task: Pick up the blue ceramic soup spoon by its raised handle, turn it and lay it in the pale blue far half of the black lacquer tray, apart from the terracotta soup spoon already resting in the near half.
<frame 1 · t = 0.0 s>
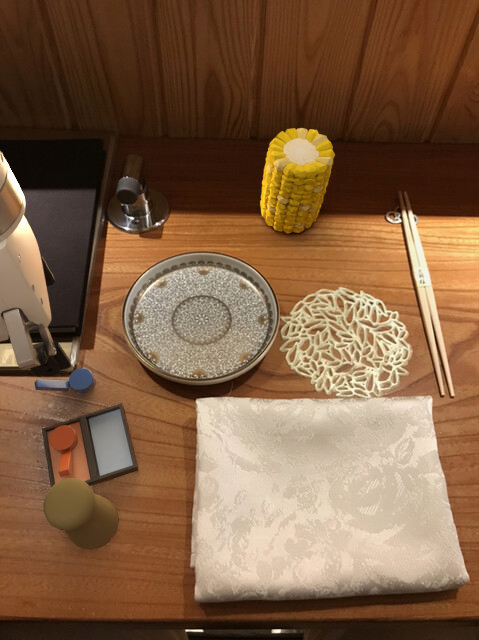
hand: (46, 325, 53), 23 cm above the counter, tool pointing down, fingers open, 9 cm apart
food: (292, 215, 89), on the counter
terracotta spoon: (68, 455, 70), resting on sorting tray
olive waisted cylinder: (93, 522, 66), on the counter
sorting tray: (90, 450, 71), on the counter
blue spoon: (69, 387, 75), on the counter
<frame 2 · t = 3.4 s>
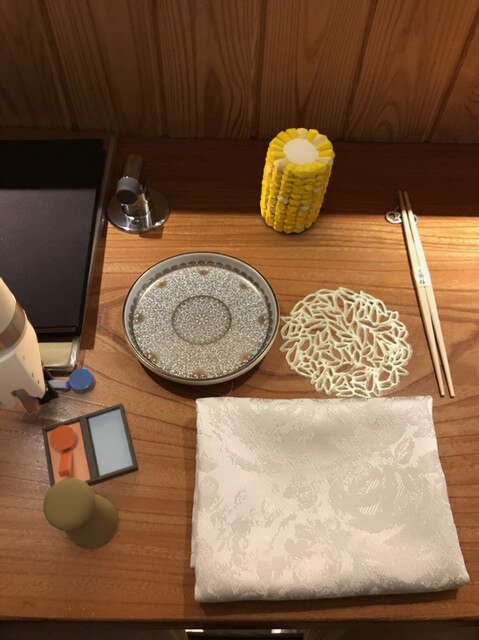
hand: (45, 392, 74), 1 cm above the counter, tool pointing down, fingers closed on blue spoon
blue spoon: (69, 387, 75), on the counter, touching gripper
everything else where it was.
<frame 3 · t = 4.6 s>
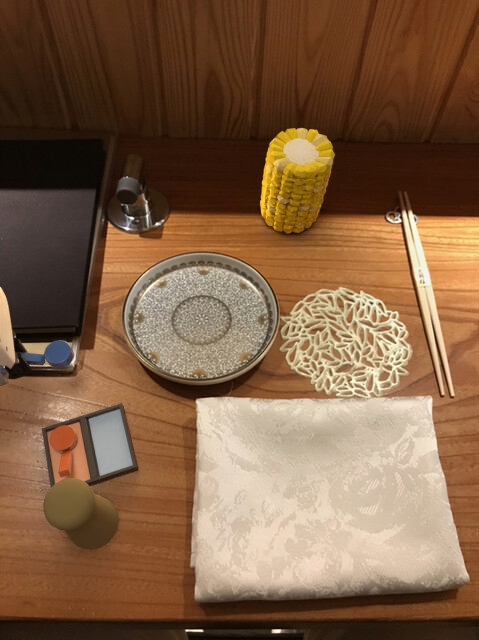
hand: (17, 367, 67), 9 cm above the counter, tool pointing down, fingers closed on blue spoon
blue spoon: (44, 361, 68), point 8 cm above the counter, touching gripper
everything else where it was.
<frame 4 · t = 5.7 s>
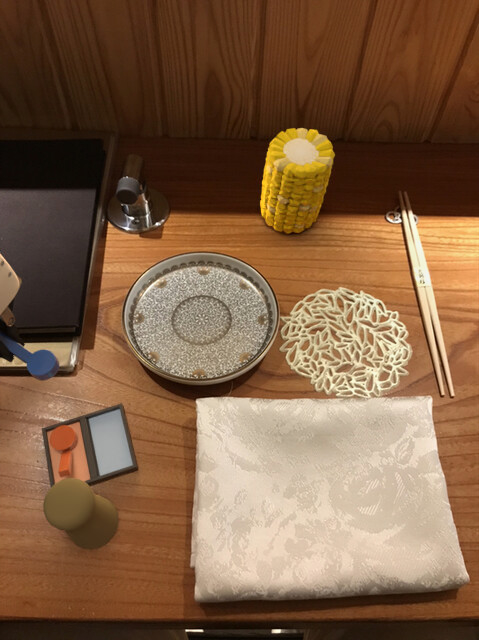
hand: (7, 348, 64), 13 cm above the counter, tool pointing down, fingers closed on blue spoon
blue spoon: (31, 360, 63), point 13 cm above the counter, touching gripper
everything else where it was.
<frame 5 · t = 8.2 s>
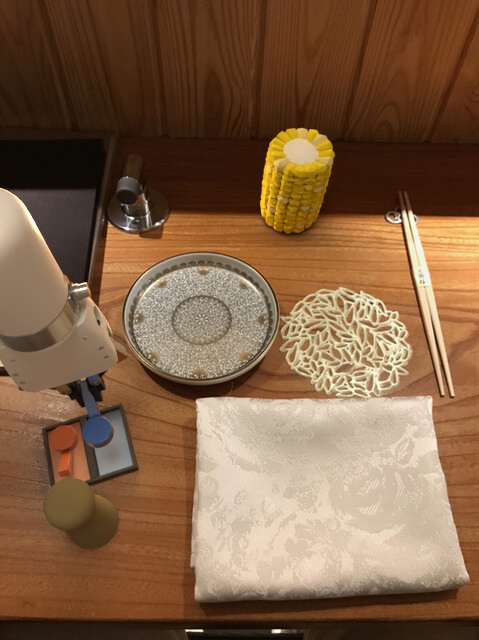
hand: (90, 393, 65), 9 cm above the counter, tool pointing down, fingers closed on blue spoon
blue spoon: (96, 418, 64), point 9 cm above the counter, touching gripper
everything else where it was.
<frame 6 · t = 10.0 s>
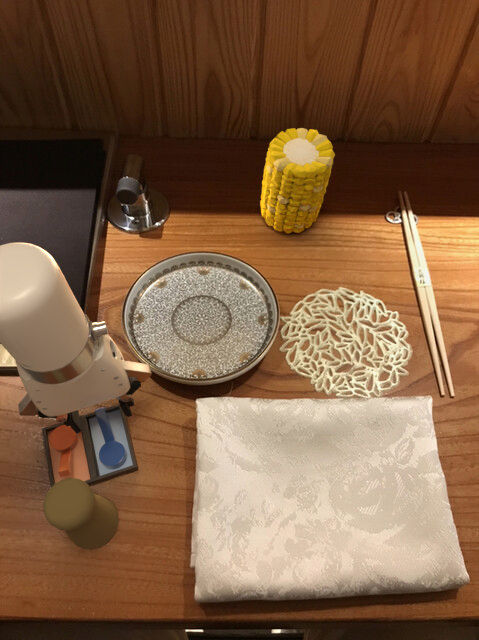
hand: (102, 413, 70), 3 cm above the counter, tool pointing down, fingers open, 5 cm apart
blue spoon: (111, 441, 71), resting on sorting tray
everything else where it was.
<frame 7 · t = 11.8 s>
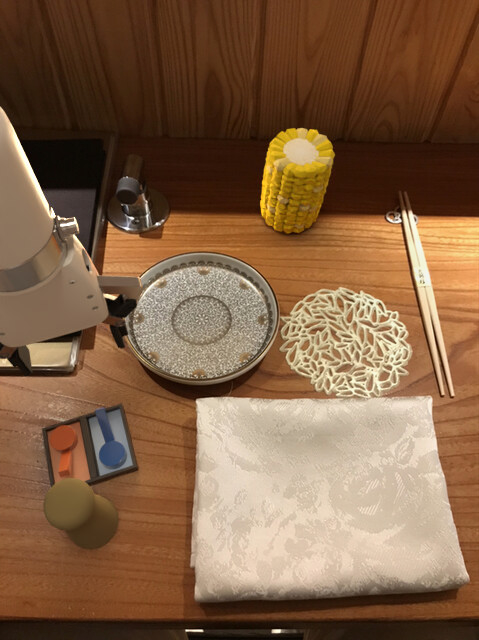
hand: (74, 350, 58), 17 cm above the counter, tool pointing down, fingers open, 9 cm apart
nothing on the counter moved.
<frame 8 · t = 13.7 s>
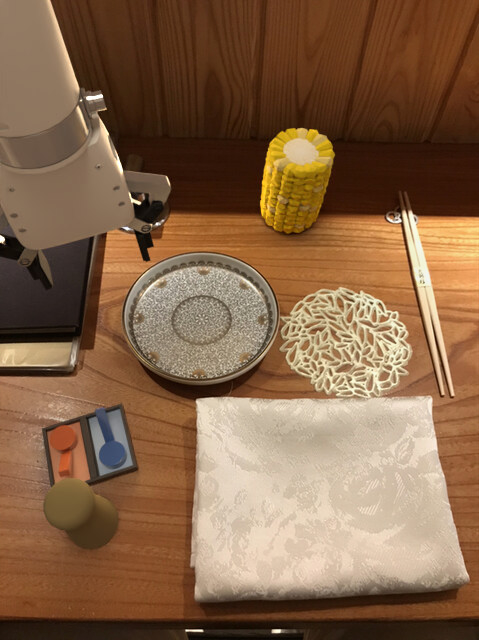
hand: (96, 264, 55), 24 cm above the counter, tool pointing down, fingers open, 9 cm apart
nothing on the counter moved.
at the end: blue spoon 0.0 cm from the target spot on the sorting tray, point 0.5 cm above the sorting tray's base; terracotta spoon 0.1 cm from the target spot on the sorting tray, point 0.5 cm above the sorting tray's base; the gripper is holding nothing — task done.
